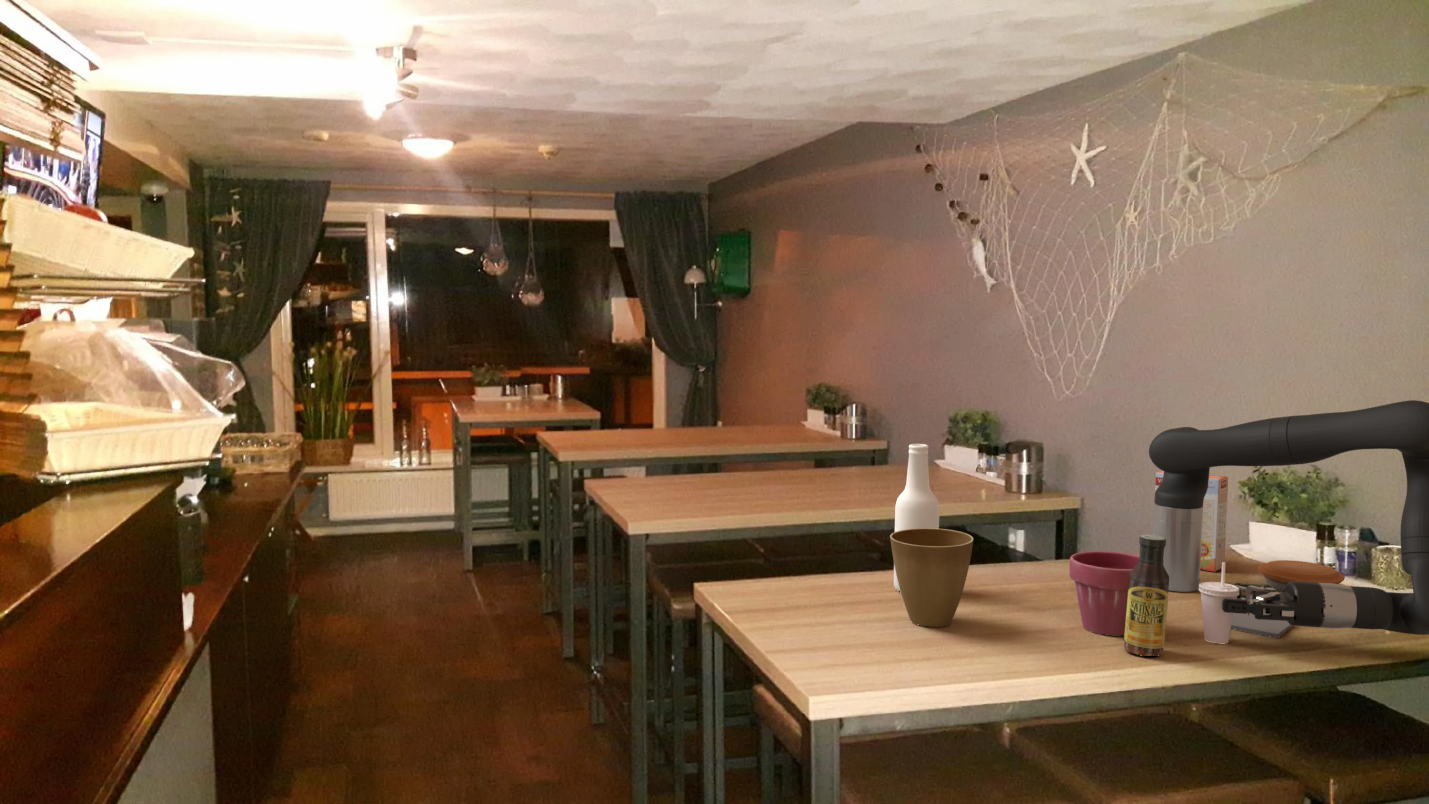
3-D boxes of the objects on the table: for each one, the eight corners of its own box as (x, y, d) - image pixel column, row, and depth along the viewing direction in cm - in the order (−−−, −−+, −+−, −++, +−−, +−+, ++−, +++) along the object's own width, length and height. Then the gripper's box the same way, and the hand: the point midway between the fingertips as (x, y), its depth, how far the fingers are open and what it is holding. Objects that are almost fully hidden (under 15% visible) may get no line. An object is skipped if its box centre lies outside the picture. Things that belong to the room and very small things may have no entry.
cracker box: (1225, 568, 229) (1229, 475, 227) (1215, 573, 225) (1219, 478, 223) (1161, 557, 239) (1165, 468, 237) (1151, 561, 235) (1155, 471, 233)
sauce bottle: (1123, 655, 170) (1128, 538, 169) (1123, 644, 176) (1128, 530, 174) (1166, 661, 168) (1171, 541, 166) (1165, 649, 174) (1170, 534, 172)
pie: (1240, 583, 217) (1241, 560, 217) (1293, 576, 223) (1294, 553, 222) (1306, 602, 203) (1308, 577, 202) (1361, 594, 209) (1362, 570, 208)
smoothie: (1234, 649, 174) (1239, 568, 173) (1193, 642, 177) (1197, 563, 176) (1238, 639, 179) (1242, 560, 178) (1198, 632, 183) (1202, 555, 182)
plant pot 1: (918, 605, 199) (920, 524, 198) (986, 622, 189) (989, 536, 187) (872, 621, 189) (873, 535, 187) (941, 640, 178) (943, 549, 177)
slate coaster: (1217, 626, 187) (1217, 622, 187) (1234, 614, 194) (1234, 610, 194) (1277, 638, 180) (1277, 634, 180) (1293, 625, 187) (1293, 621, 187)
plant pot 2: (1050, 622, 189) (1052, 553, 188) (1109, 613, 194) (1111, 547, 193) (1108, 645, 176) (1111, 572, 175) (1169, 635, 181) (1172, 564, 180)
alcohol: (904, 597, 204) (907, 448, 202) (886, 585, 213) (889, 442, 210) (944, 594, 207) (948, 447, 204) (925, 583, 215) (929, 441, 212)
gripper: (1306, 572, 181) (1207, 567, 184) (1336, 594, 167) (1228, 588, 171) (1304, 614, 182) (1205, 607, 185) (1333, 639, 168) (1225, 631, 171)
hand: (1216, 598), depth 178 cm, fingers open, 8 cm apart
